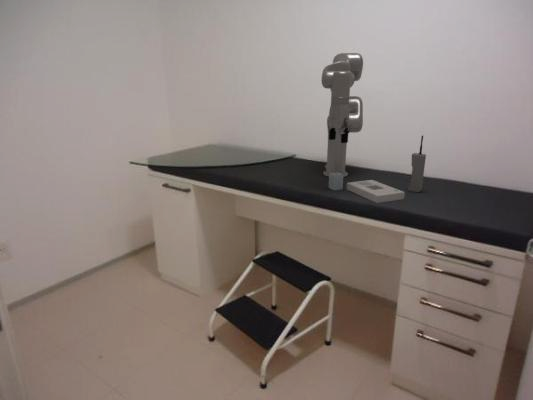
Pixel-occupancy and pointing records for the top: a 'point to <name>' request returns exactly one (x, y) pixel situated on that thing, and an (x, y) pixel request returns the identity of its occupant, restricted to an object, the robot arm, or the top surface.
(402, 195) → the outlet plate
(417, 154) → the vintage mobile phone
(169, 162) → the top surface
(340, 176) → the charger block
